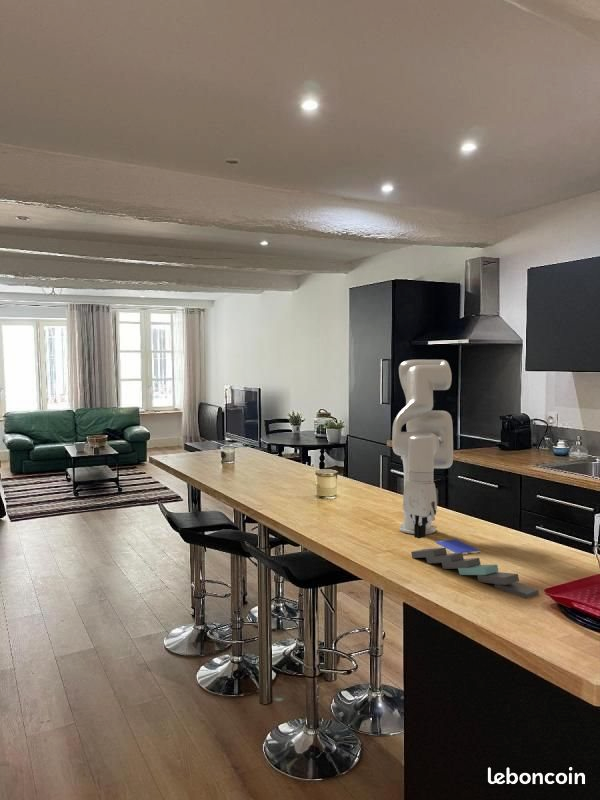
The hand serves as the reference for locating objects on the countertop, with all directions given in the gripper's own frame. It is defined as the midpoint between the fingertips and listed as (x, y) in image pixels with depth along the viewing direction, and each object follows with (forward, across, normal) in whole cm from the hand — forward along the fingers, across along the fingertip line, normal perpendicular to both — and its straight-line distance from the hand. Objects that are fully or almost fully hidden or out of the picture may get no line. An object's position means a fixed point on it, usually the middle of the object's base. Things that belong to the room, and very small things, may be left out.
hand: (419, 537), depth 182 cm
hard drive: (+7, 0, +16) cm, 18 cm away
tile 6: (+6, +29, 0) cm, 29 cm away
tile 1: (+5, -1, 0) cm, 5 cm away
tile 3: (+5, +11, 0) cm, 12 cm away
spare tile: (+5, +17, 0) cm, 18 cm away
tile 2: (+5, +5, 0) cm, 7 cm away
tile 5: (+5, +24, 0) cm, 24 cm away
